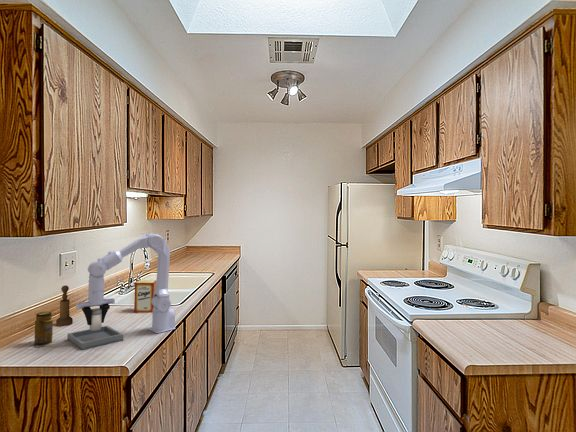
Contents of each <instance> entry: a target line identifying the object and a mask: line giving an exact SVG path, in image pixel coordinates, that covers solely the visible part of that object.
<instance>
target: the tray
mask: <svg viewBox="0 0 576 432" xmlns="http://www.w3.org/2000/svg"><path fill="white" fill-rule="evenodd" d="M67 341H68V342H70V343H71V344H73V345H74V346H76V347H77V348H79V350H81V351H83V350H87V349H92V348H97V347H101V346H104V345H109V344H113V343H118V342H121V341H124V334H123V333H122V332H119V330H116V329H114V328H113V327H110V326H109V325H103V326H101V329H100V330H96V331H91V330H90V328H88V329H84V330H78V331H74V332H69V333H67Z"/></svg>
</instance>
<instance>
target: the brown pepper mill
mask: <svg viewBox="0 0 576 432" xmlns="http://www.w3.org/2000/svg"><path fill="white" fill-rule="evenodd" d="M69 289H70V288H69V286H68V285H62V286H61V289H60V290H61V292H62V295H61V298H62V299H60V300H59V317H58V318H57V319H56V320H55V326H56V327H66V326H67V327H68V326H71V325H72V324H73V323H74V322H73V320H74V319H73V317H71V315H70V299H68V295H69V294H68V292H69Z"/></svg>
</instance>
